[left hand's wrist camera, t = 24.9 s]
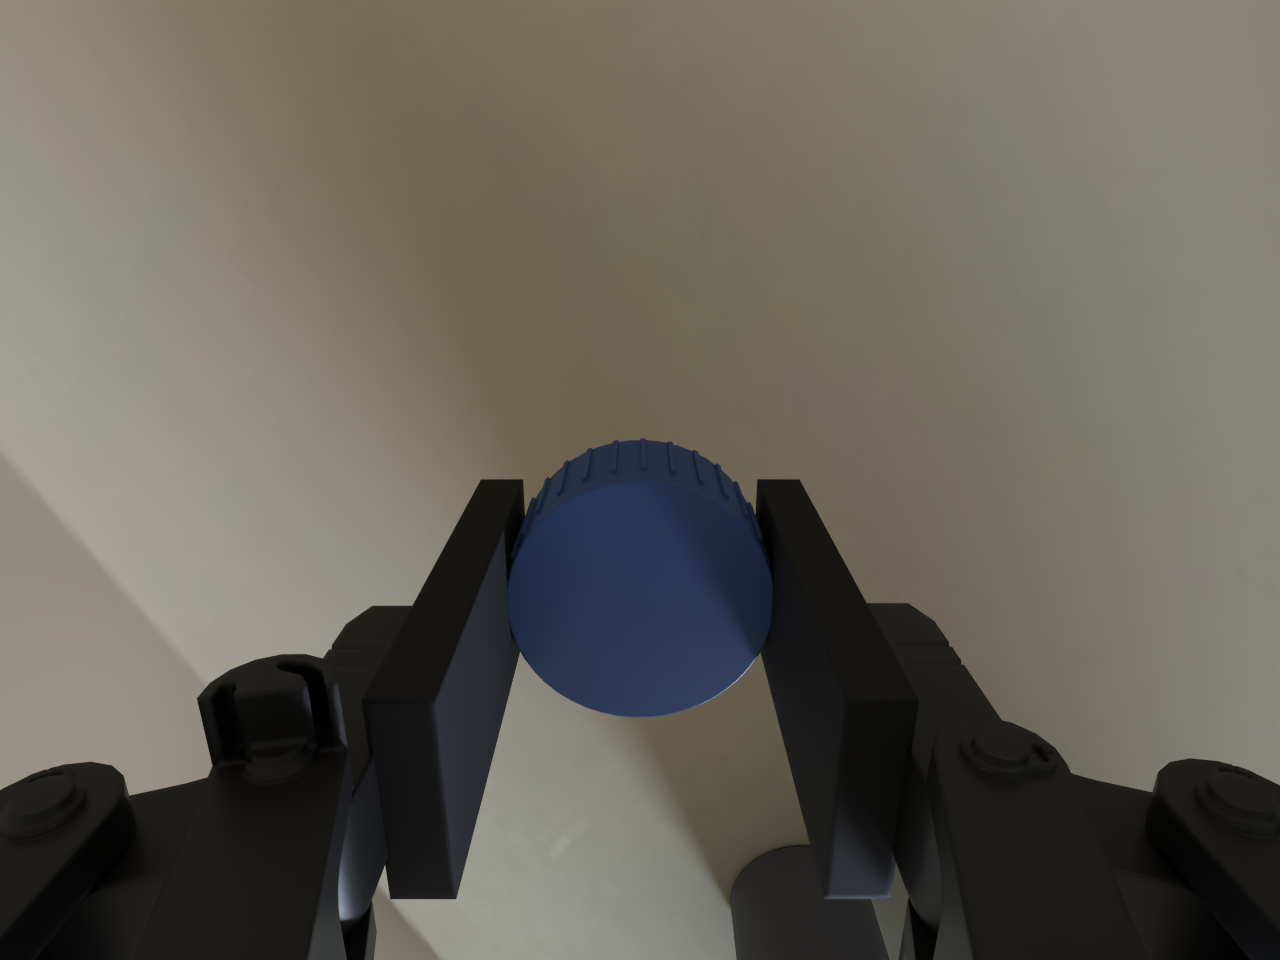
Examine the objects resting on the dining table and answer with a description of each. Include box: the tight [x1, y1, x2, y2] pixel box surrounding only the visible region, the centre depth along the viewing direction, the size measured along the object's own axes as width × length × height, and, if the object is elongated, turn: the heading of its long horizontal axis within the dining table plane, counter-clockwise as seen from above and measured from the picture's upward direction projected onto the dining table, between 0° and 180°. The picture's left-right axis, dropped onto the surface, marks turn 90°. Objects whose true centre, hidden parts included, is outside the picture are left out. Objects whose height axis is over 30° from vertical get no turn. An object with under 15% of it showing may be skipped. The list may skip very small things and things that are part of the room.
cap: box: [507, 438, 773, 717], centre depth 14 cm, size 4×4×2 cm
